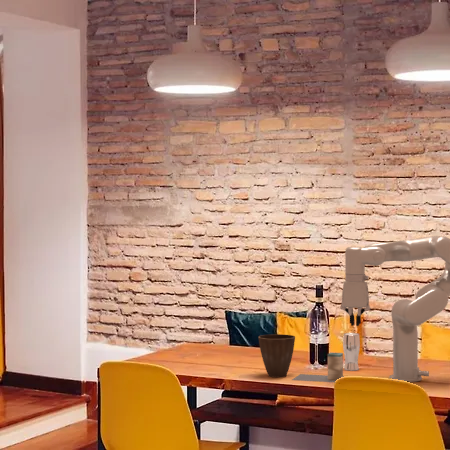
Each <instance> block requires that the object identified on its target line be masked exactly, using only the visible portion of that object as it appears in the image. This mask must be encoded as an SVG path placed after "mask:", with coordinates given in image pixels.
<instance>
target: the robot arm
mask: <svg viewBox="0 0 450 450" xmlns="http://www.w3.org/2000/svg"><path fill="white" fill-rule="evenodd" d="M344 254H345V258H344V259H345V266H344V267H345V269H344V270H345V271H344V273H345V276H344V277H345V278H344V279H345V281H343V284H342V285H343V286H342V291H341V292H342V293H341V305H340V308H339V309H340V310H342V311H344V312H346V313H347V314H348V316H349V324H350V326H351V327H353V326H355V325H356V327H359V326H360V325H361V323H362V314H364V313H365V312H367V311H370V310H371V306H370V295H369V287H368V281H366V280H369V275H366V273H365V272H366V268H365V267H366V266H376V267H377V266H381V265H382V264H384V263H386V262H414V261H420V260H427V259H433V258H434V259H435V258H440V259H442V260H443V261H444V263H445V265H444V270H443V273H442V274H441V275H440V276H439V277H438V278H436V279H434V280H433V281H431V282H429V283H428V284H426V285H425V286H423V287H422V288H420V289H418V291H417V292H416V294H415V299H414V300H410V299H399V300H397V301H396V302H395V303H394V304H393V306H392V308H391V310H390V311H391V313H390V314H391V315H390V316H391V322H392V323H391V324H392V339H393V340H392V343H393V344H392V350H393V351H392V352H393V353H392V355H393V356H392V357H393V359H392V361H393V362H392V363H393V365H392V366H393V367H392V371H393V372H392V374H391V375H389V377H388V378H392V379H398V380H404V381H409V382H408V383H414V382H420V381H422V379H423V377H429V376H430V371H429V370H428V371H427V370H421V369H420V367H419V365H418V362H419V359H418V357H419V355H418V354H419V352H418V351H419V350H418V349H419V347H418V346H419V345H418V344H419V343H418V341H419V337H418V336H419V335H418V334H419V333H418V326H420V325H423V324H425V322H427V321H429V320H430V319H432V318H433V317H435V316H437V315H438V314H439V313H442V312H443V311H444V310H445V309H446V307H447V306H448V303H449V297H450V237H447V236H445V235H444V236H442V235H433V236H432V235H431V236H424V237H418V238H417V237H416V238H410V239H405V240H402V239H401V240H397V241H391V242H384V243H376V244H369V245H365V246H363V247H361V246H349V247H346V249H345V253H344ZM365 265H366V266H365ZM355 308H357V313H356V316H355V314H354V310H353V309H355ZM355 319H356V320H355Z"/></svg>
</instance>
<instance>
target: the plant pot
mask: <svg viewBox="0 0 450 450" xmlns="http://www.w3.org/2000/svg"><path fill="white" fill-rule="evenodd" d="M295 340H296V336H295V335H293V334H282V333H281V334H280V333H279V334H263V335H259V336H258V344H259V349H260V354H261V357H262V362H263V364H264V369H265V370H266V374H267V375H268V377H269V378H283V377H284V378H285V377H286V376H287V375H288V372H289V369H290V368H291V367H290V366H291V363H292V358H293V354H294V348H295V342H296V341H295Z"/></svg>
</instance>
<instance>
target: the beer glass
mask: <svg viewBox="0 0 450 450" xmlns="http://www.w3.org/2000/svg"><path fill="white" fill-rule="evenodd" d="M360 338H361V337H360V333H356V332H346V333H343V338H342V340H343V341H342V347H343V356H344V366H343V371H348V372H349V371H350V372H353V371H354V372H355V371H359V370H360V368H359V362H358V361H359V353H360V348H361V344H360V343H361V342H360V341H361V340H360Z"/></svg>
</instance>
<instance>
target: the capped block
mask: <svg viewBox="0 0 450 450" xmlns="http://www.w3.org/2000/svg"><path fill="white" fill-rule="evenodd" d="M327 375H328V380H337V379H339V378H341V377H343V376H344V352H329V353H327Z"/></svg>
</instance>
